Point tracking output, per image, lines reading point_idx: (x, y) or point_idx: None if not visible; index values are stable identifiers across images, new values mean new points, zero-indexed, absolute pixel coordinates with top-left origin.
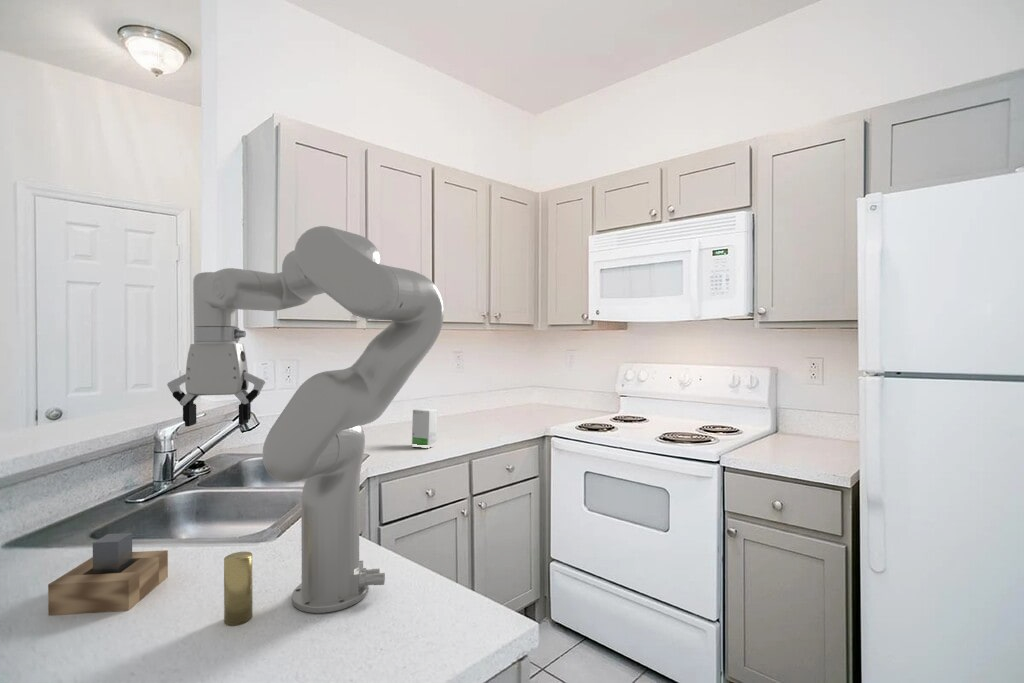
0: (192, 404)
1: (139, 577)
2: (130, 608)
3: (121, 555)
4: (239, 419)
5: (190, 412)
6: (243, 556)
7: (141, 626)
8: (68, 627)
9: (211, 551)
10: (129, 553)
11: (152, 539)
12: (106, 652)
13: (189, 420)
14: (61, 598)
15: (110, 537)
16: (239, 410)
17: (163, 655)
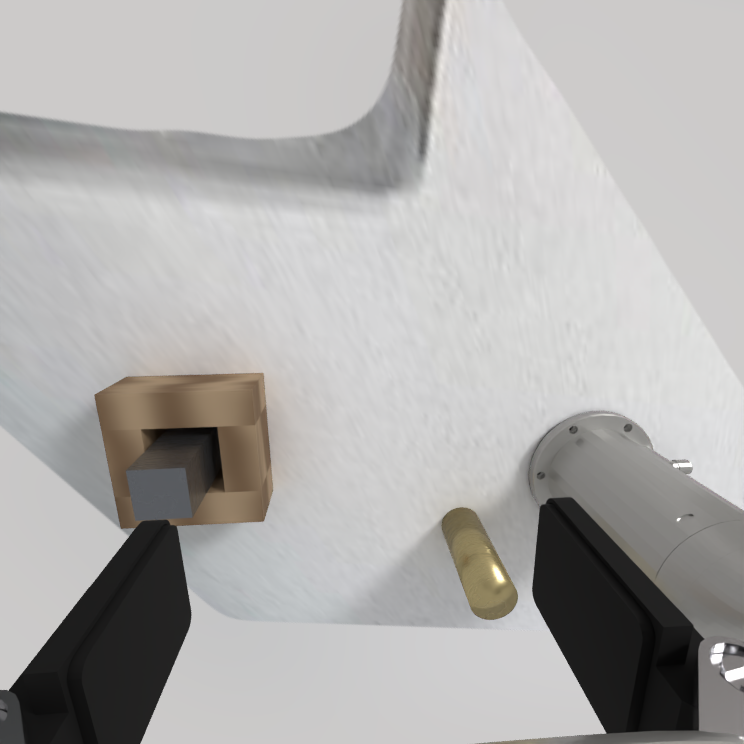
0: (75, 733)
1: (263, 485)
2: (272, 486)
3: (203, 486)
4: (553, 625)
5: (142, 701)
6: (503, 599)
7: (324, 533)
8: (212, 529)
9: (287, 243)
10: (201, 456)
11: (68, 128)
12: (316, 586)
13: (175, 650)
14: None
15: (152, 493)
16: (594, 697)
17: (395, 595)
